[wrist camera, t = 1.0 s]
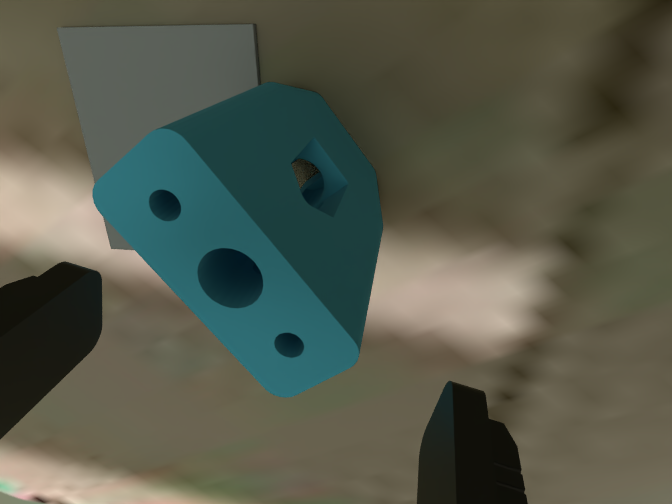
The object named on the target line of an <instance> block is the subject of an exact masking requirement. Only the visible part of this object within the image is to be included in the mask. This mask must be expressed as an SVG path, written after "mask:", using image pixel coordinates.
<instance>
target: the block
mask: <svg viewBox="0 0 672 504" xmlns="http://www.w3.org/2000/svg"><path fill="white" fill-rule="evenodd" d="M297 159H304V160H307V161H309V162H311V163H312V164H314V165H315V166H316V167H317V168H318V170H319V171H320V172H319V173H317V174H316V175H314V176H313V177H312V178H310V179H309V180H307V181H306V182H305V183H304V185H303V186H302V187H301V189H300V188H299V185H298V182H297V179H296V176H295V173H294V171H293V168H292V165H291V164H292V163H293V162H295V161H296V160H297ZM93 200H94V204H95V206H96V208H97V209H98V211H99V212H100V213H101V215H102V216H103V217H104V218H105V219H106V220H107V221H108V222H109V223H110V224H111V225H112V226H113V227H114V228H115V230H116V231H117V232H118V233H119V234H120V235H121V236H122V237H123V238H124V239H125V240H126V241H127V242H128V243H129V244H130V245H131V247H132V248H133V249H134V250H135V251H136V252H137V253H138V254H139V255H140V256H141V257H142V258H143V259H144V260H145V261H146V263H147V264H148V265H149V266H150V267H151V268H152V269H153V270H154V271H155V272H156V273H157V274H158V275H159V276H160V277H161V279H162V280H163V281H164V282H165V283H166V284H167V285H168V286H169V287H170V288H171V289H172V290H173V291H174V292H175V293H176V294H177V296H178V297H179V298H180V299H181V300H182V301H183V302H184V303H185V304H186V305H187V306H188V307H189V308H190V309H191V310H192V312H193V313H194V314H195V315H196V316H197V317H198V318H199V319H200V320H201V321H202V322H203V323H204V324H205V325H206V326H207V327H208V329H209V330H210V331H211V332H212V333H213V334H214V335H215V336H216V337H217V338H218V339H219V340H220V341H221V342H222V343H223V345H224V346H225V347H226V348H227V349H228V350H229V351H230V352H231V353H232V354H233V355H234V356H235V357H236V358H237V359H238V361H239V362H240V363H241V364H242V365H243V366H244V367H245V368H246V369H247V370H248V371H249V372H250V373H251V374H252V375H253V376H254V378H255V379H256V380H257V381H258V382H259V383H260V384H261V385H262V386H263V387H264V388H265V389H266V390H267V391H268V392H270V393H271V394H273V395H276V396H279V397H292V396H295V395H297V394H299V393H301V392H303V391H305V390H307V389H309V388H311V387H313V386H315V385H317V384H319V383H321V382H323V381H325V380H327V379H329V378H331V377H333V376H335V375H337V374H339V373H341V372H343V371H345V370H347V369H349V368H350V367H352V366H353V365H354V364H355V363H356V362H357V360H358V357H359V353H360V347H361V342H362V337H363V331H364V326H365V321H366V316H367V310H368V305H369V300H370V294H371V289H372V284H373V279H374V273H375V268H376V263H377V257H378V252H379V247H380V242H381V236H382V231H383V221H382V214H381V206H380V199H379V192H378V184H377V177H376V172H375V170H374V168H373V167H372V165H371V164H370V163H369V161H368V160H367V158H366V157H365V156H364V154H363V153H362V152H361V150H360V149H359V147H358V146H357V145H356V143H355V142H354V141H353V139H352V138H351V136H350V135H349V134H348V132H347V131H346V129H345V128H344V127H343V125H342V124H341V123H340V121H339V120H338V118H337V117H336V116H335V114H334V113H333V112H332V110H331V109H330V107H329V106H328V105H327V103H326V102H325V101H324V99H323V98H322V97H321V96H320V95H319V94H318V93H316V92H313V91H308V90H304V89H300V88H296V87H292V86H287V85H283V84H279V83H275V82H267V83H264V84H262V85H259V86H257V87H254V88H252V89H250V90H247V91H245V92H243V93H240V94H238V95H236V96H233V97H231V98H229V99H226V100H224V101H222V102H219V103H217V104H214V105H212V106H210V107H207V108H205V109H203V110H200V111H198V112H196V113H193V114H191V115H189V116H186V117H184V118H181V119H179V120H177V121H174V122H172V123H170V124H167V125H165V126H163V127H160V128H158V129H156V130H153V131H152V132H150V133H149V134H148V135H146V136H145V137H144V138H143V139H142V140H141V141H140V142H139V143H138V144H137V145H136V146H135V147H133V148H132V149H131V150H130V151H129V152H128V153H127V154H126V155H125V156H124V157H123V158H121V159H120V160H119V161H118V162H117V163H116V164H115V165H114V166H113V167H112V168H111V169H110V170H108V171H107V172H106V173H105V174H104V175H103V176H102V177H101V178H100V179H99V180H98V181H97V182H96V183H95V185H94V188H93Z"/></svg>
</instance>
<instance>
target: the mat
mask: <svg viewBox="0 0 672 504" xmlns="http://www.w3.org/2000/svg"><path fill="white" fill-rule="evenodd" d="M57 31H58V35H59V39H60V43H61V47H62V51H63V55H64V59H65V63H66V67H67V71H68V76H69V80H70V84H71V88H72V92H73V96H74V100H75V104H76V108H77V112H78V116H79V120H80V124H81V128H82V133H83V137H84V141H85V145H86V149H87V153H88V157H89V161H90V165H91V169H92V173H93V177H94V181H95V183H96V182H97V181H98V180H99V179H100V178H101V177H102V176H103V175H104V174H105V173H106V172H107V171H108V170H110V169H111V168H112V167H113V166H114V165H115V164H116V163H117V162H118V161H119V160H120V159H121V158H123V157H124V156H125V155H126V154H127V153H128V152H129V151H130V150H131V149H132V148H133V147H135V146H136V145H137V144H138V143H139V142H140V141H141V140H142V139H143V138H144V137H145V136H146V135H148V134H149V133H150V132H152V131H153V130H156V129H158V128H160V127H163V126H165V125H167V124H170V123H172V122H174V121H177V120H179V119H181V118H184V117H186V116H189V115H191V114H193V113H196V112H198V111H200V110H203V109H205V108H207V107H210V106H212V105H214V104H217V103H219V102H222V101H224V100H226V99H229V98H231V97H233V96H236V95H238V94H240V93H243V92H245V91H247V90H250V89H252V88H254V87H257V86H259V85H261V84H260V72H259V60H258V48H257V36H256V24H230V25H175V26H121V27H66V28H57ZM103 218H104V217H103ZM104 222H105V226H106V230H107V234H108V238H109V242H110V246H111V249H124V250H134V249H133V248H132V247H131V245H130V244H129V243H128V242H127V241H126V240H125V239H124V238H123V237H122V236H121V235H120V234H119V233H118V232H117V231H116V230H115V228H114V227H113V226H112V225H111V224H110V223H109V222H108V221H107V220H106V219H105V218H104Z"/></svg>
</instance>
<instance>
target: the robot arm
mask: <svg viewBox="0 0 672 504" xmlns="http://www.w3.org/2000/svg"><path fill="white" fill-rule="evenodd" d="M101 330H102V278H101V275H100V273H99V272H97V271H95V270H92V269H88V268H85V267H82V266H79V265H75V264H72V263H69V262H61V263H59V264H57V265H55V266H54V267H52V268H51V269H49V270H48V271H46V272H45V273H43V274H42V275H40V276H38V277H36V276H31V277H28V278H24V279H21V280H18V281H15V282H12V283H9V284H6V285H4V286H3V287H1V288H0V439H1V438H2V437H3V436H4V435H5V434H6V433H7V432H8V431H9V430H10V429H11V428H12V427H14V426H15V425H16V424H17V423H18V422H19V421H20V420H21V419H22V418H23V417H24V416H25V415H26V414H27V413H28V412H29V411H30V410H31V409H32V408H33V407H34V406H35V405H36V404H37V403H38V402H39V401H40V400H41V399H42V398H43V397H44V396H45V395H47V394H48V393H49V392H50V391H51V390H52V389H53V388H54V387H55V386H56V385H57V384H58V383H59V382H60V381H61V380H62V379H63V378H64V377H65V376H66V375H67V374H68V373H69V372H70V371H71V370H72V369H73V368H74V367H75V366H76V365H77V364H78V363H80V362H81V361H82V360H83V359H84V358H85V357H86V356H87V355H88V354H89V353H90V352H91V351H92V349H93V348H94V346H95V345H96V343H97V341H98V339H99V337H100V334H101ZM524 491H525V487H524V481H523V476H522V474H521V465H520V459H519V454H518V448H517V445H516V444H515V442H514V440H513V438H512V437H511V435H510V433H509V432H508V430H507V428H506V426H505V425H504V423H501V422H498V421H494V420H491V419H489V418H488V410H487V402H486V395H485V393H484V391H481V390H478V389H475V388H471V387H468V386H465V385H462V384H458V383H455V382H452V381H449V382H447V384H446V385H445V387H444V389H443V392H442V394H441V396H440V398H439V401H438V403H437V405H436V407H435V409H434V412H433V414H432V416H431V418H430V421H429V423H428V425H427V427H426V430H425V432H424V435H423V439H422V443H421V448H420V454H419V470H418V492H417V504H528V503H527V498H526V495H525V494H524Z"/></svg>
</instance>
